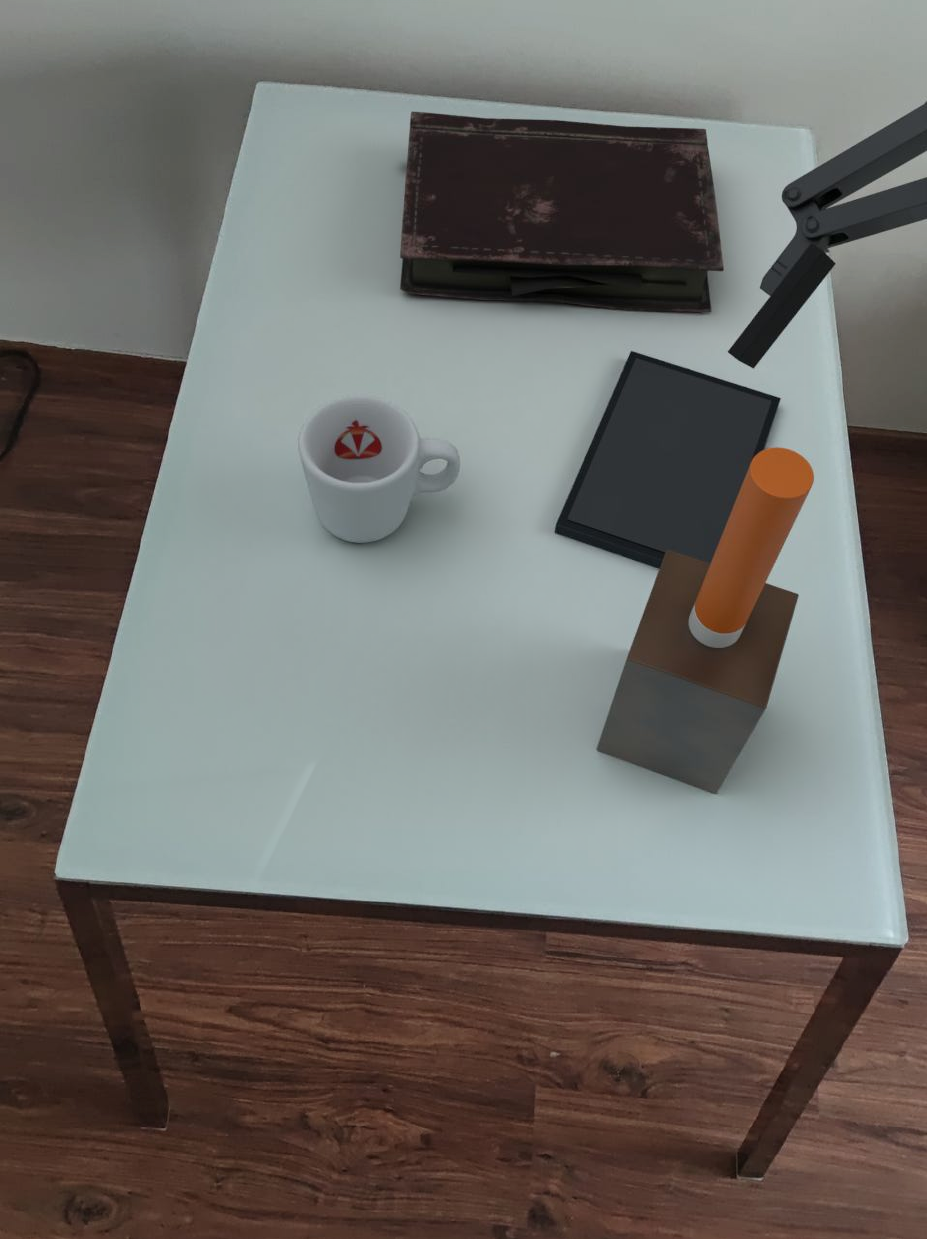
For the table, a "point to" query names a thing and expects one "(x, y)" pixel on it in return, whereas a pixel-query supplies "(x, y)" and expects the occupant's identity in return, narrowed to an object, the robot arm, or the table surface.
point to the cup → (368, 465)
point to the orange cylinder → (750, 544)
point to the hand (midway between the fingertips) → (841, 440)
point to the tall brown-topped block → (694, 681)
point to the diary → (559, 213)
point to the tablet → (666, 462)
